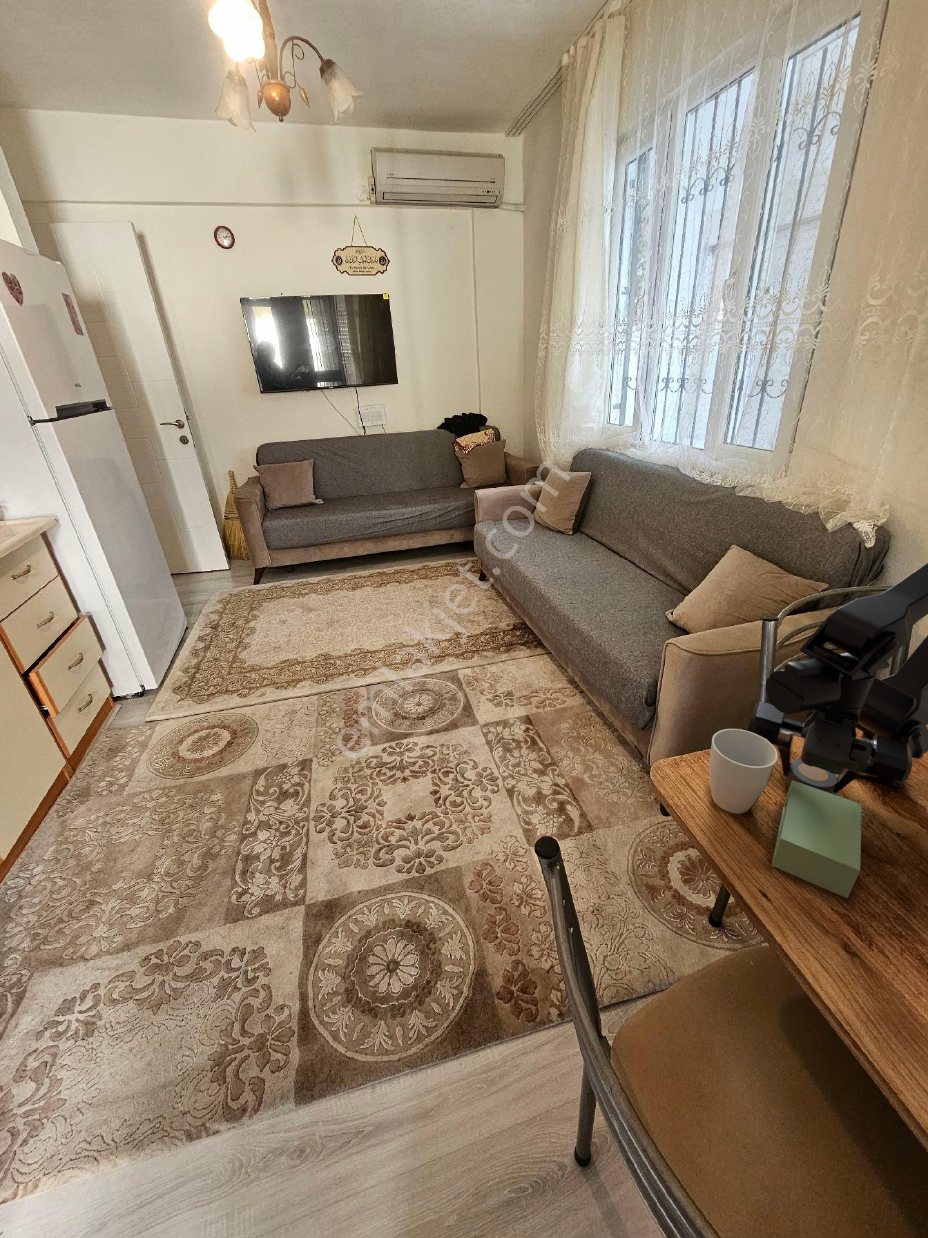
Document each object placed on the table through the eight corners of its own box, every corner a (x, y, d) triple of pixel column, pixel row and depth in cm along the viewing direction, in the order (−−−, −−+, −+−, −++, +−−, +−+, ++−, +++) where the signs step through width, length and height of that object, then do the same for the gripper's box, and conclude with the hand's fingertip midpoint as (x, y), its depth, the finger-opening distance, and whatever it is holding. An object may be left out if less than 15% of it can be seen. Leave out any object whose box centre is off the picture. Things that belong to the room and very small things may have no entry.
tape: (787, 768, 80) (792, 753, 79) (832, 783, 77) (838, 768, 75) (782, 791, 76) (787, 776, 74) (830, 809, 72) (836, 793, 71)
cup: (769, 825, 70) (786, 770, 66) (707, 817, 72) (720, 763, 67) (752, 783, 77) (766, 731, 73) (695, 777, 79) (706, 726, 75)
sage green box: (783, 806, 73) (791, 780, 71) (850, 831, 69) (862, 804, 67) (771, 866, 65) (780, 838, 62) (847, 899, 60) (860, 870, 58)
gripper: (752, 703, 68) (730, 790, 75) (933, 755, 58) (888, 849, 65) (765, 667, 76) (744, 748, 83) (926, 707, 66) (887, 795, 73)
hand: (809, 782), depth 76 cm, fingers closed on tape, 6 cm apart
